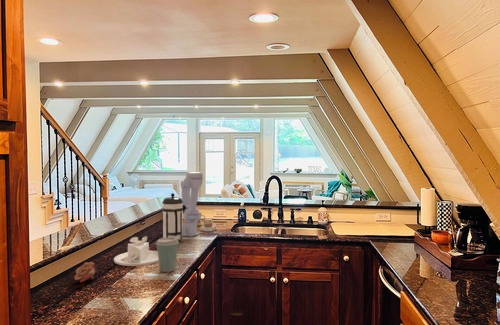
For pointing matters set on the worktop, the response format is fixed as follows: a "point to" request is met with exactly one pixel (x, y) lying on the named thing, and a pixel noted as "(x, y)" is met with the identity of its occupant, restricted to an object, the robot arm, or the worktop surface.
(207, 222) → the brass cube
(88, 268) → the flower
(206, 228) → the ceramic plinth
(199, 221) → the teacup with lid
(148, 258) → the dish
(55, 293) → the worktop surface
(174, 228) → the coffee press
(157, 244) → the disposable coffee cup
